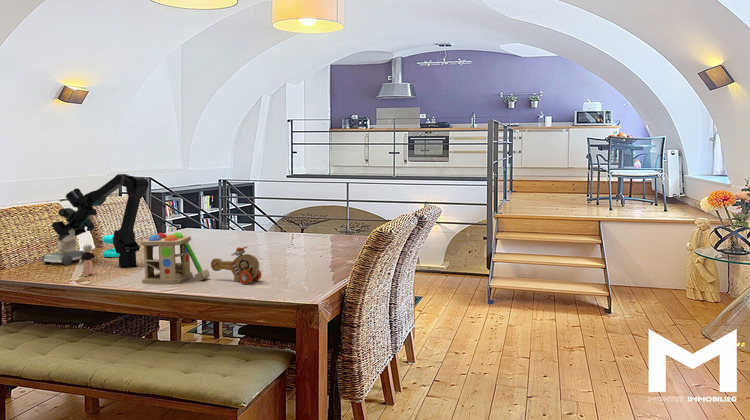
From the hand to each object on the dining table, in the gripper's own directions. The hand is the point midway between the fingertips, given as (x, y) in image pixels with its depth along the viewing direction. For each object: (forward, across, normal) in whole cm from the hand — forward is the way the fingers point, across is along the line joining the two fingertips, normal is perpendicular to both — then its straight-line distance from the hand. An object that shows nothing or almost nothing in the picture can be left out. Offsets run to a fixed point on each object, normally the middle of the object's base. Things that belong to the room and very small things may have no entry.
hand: (64, 239), depth 265 cm
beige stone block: (+4, 0, +6) cm, 7 cm away
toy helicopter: (-61, +12, +77) cm, 99 cm away
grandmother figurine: (-16, +20, +32) cm, 41 cm away
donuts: (+1, -20, +14) cm, 24 cm away
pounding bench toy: (-44, +16, +60) cm, 77 cm away
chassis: (+6, 0, +8) cm, 11 cm away
